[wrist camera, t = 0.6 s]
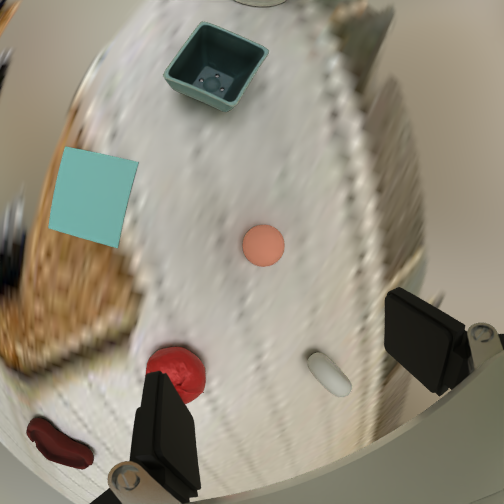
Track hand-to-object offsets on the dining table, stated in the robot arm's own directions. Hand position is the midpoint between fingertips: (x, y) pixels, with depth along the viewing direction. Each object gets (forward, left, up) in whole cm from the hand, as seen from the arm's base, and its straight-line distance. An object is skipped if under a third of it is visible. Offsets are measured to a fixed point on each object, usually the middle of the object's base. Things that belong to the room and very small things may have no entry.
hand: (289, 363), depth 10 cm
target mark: (0, -19, -29) cm, 34 cm away
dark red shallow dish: (+60, -27, -29) cm, 72 cm away
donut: (+18, +24, -29) cm, 41 cm away
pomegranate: (+23, -1, -29) cm, 37 cm away
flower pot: (-19, -7, -29) cm, 35 cm away
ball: (0, +6, -26) cm, 27 cm away
